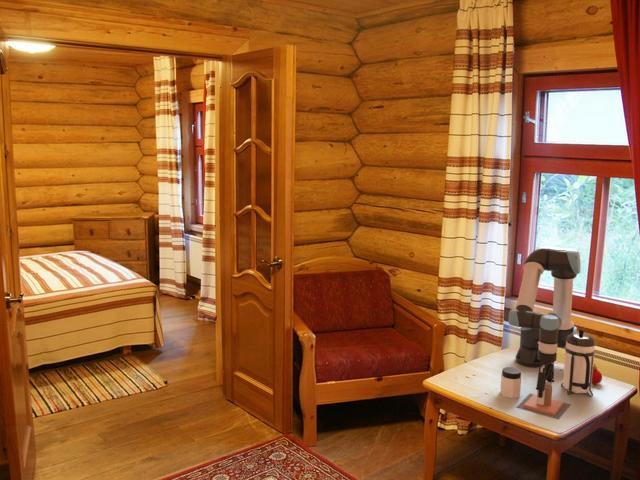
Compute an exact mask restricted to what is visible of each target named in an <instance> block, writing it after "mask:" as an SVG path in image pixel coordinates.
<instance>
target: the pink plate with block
mask: <svg viewBox="0 0 640 480" xmlns="http://www.w3.org/2000/svg"><path fill="white" fill-rule="evenodd" d="M544 390H545V396H544V405H541V404H537V396H538V390H536V391H537V392H536V393H537V394H534V395H533V396H532V397H531V398H530V399H529V400H528V401H527V402H526V403H525V404H524V407H525V408H529V409H533V410H536V411H540V412H544V413H547V414H551V415H554V416H555V414H556V413H557V412H558V411H559V409H560V408H561V407H562V406H563V404H564V402H565V401H562V400H561V401H560V400H557V399H554V398H552V394H553V385H552V386H550V385H546V384H545V388H544Z"/></svg>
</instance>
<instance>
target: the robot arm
mask: <svg viewBox="0 0 640 480" xmlns="http://www.w3.org/2000/svg"><path fill="white" fill-rule="evenodd" d="M580 254H581V253H580V252H579V250H577V249H573V248H565V247H564V248H563V247H551V246H541V247H538V248H537V249H535V250H533V251H532V252H531V253H530V254H529V255H528V256H527V257H526V259H525V261H524V263H523V265H522V266H523V267H522V270H523V276H522V281H521V283H520V284H521V285H520V288H519V293H518V297H517V301H516V305H515V309H513V308H512V309H510V310H509V312H508V318H507V320H508V324H509V326H510V327H511V326H512V327H516V328H519V329H520V337H519V347H518V350H517V352H516V355H515V362H516V363H517V364H519V365H520V366H523V367H528V368H538V374H537V380H536V387H535V390H536V391H537V390H538V396H537V404H541V405H544V396H545V390H544V388H545V384H546V385H550V386H552V387H553V383H555V362H556V361H557V354H558V353H557V352H558V348H559V349H564V350H565V346H566V337H567V336H568V335H569V334H571V333H577V329H578V327H577V326H575V323H574V321H572V305H573V291H574V290H573V289H574V288H573V287H574V286H573V285H574V280H575V278H577V275H580V274H581V269H582V268H581V255H580ZM545 271H547V272H550V275H551V277H552V278H553V279H554V281H553V295H552V296H553V300H552V312H548V313H542V312H537V311H534V308H535V303H536V300H537V294H538V289H539V286H540V285H539V284H540V280H541V276H542V275H543V274H544V272H545Z"/></svg>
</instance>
